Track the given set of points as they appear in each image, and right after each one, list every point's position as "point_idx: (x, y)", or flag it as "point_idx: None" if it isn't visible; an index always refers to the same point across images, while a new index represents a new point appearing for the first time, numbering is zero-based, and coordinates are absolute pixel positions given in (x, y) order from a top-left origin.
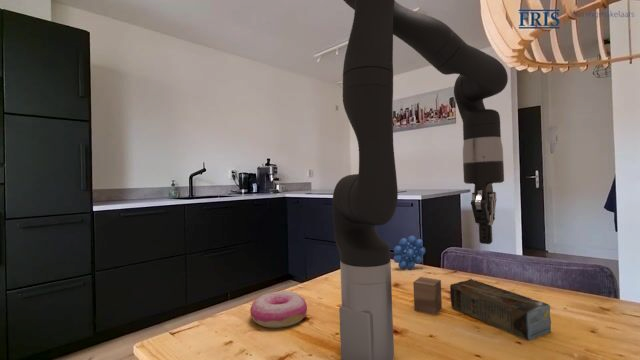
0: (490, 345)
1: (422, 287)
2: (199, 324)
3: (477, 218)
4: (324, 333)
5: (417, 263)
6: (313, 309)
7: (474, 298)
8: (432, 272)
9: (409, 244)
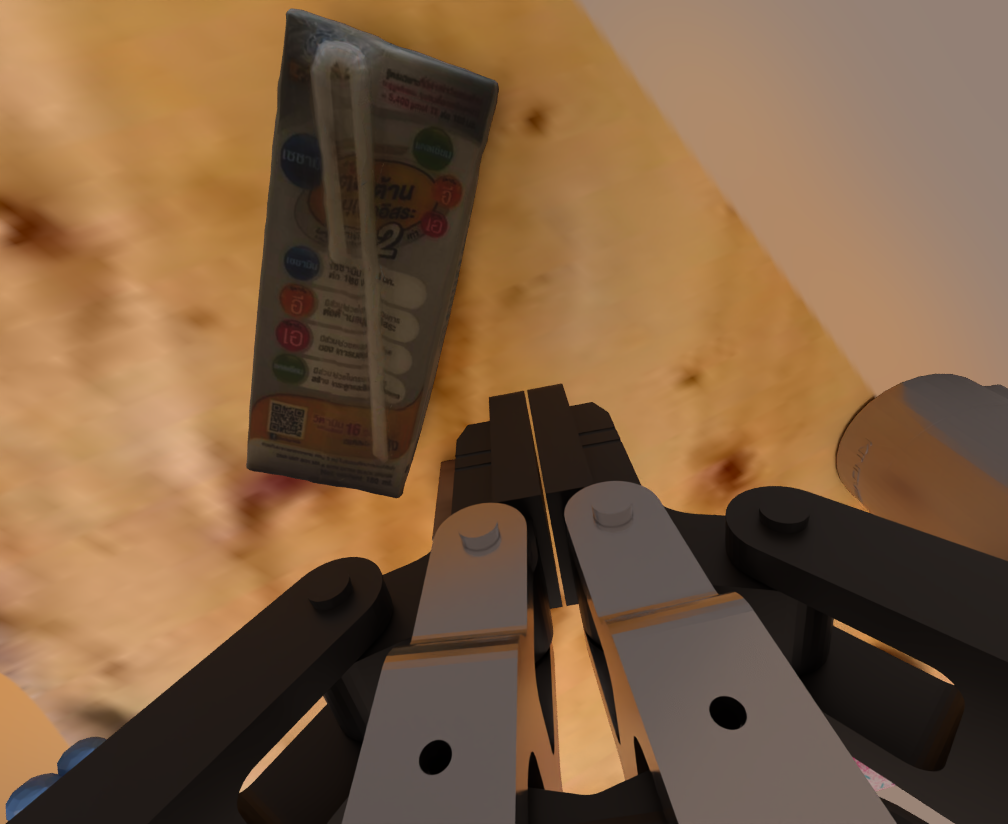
0: (634, 196)
1: None
2: None
3: (853, 660)
4: None
5: (105, 739)
6: None
7: (436, 365)
8: (97, 664)
9: None
